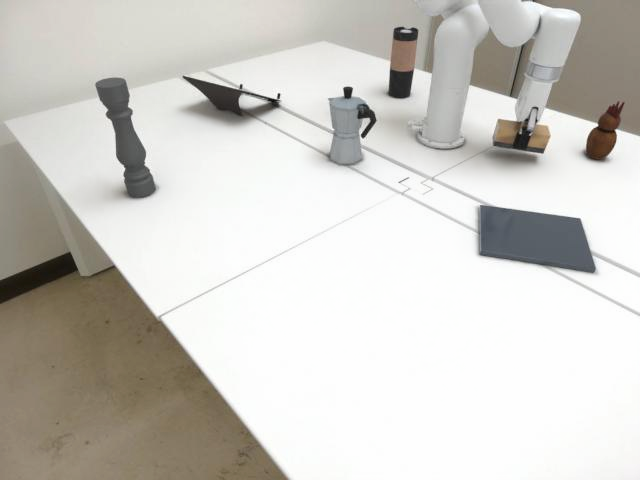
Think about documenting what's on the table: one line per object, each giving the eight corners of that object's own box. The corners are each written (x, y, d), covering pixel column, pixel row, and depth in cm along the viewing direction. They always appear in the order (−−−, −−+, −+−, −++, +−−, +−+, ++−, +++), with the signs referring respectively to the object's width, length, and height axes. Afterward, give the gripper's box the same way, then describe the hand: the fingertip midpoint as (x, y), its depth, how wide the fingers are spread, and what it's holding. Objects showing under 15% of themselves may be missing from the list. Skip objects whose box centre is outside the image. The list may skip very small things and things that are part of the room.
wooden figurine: (611, 163, 114) (636, 105, 105) (586, 161, 115) (609, 103, 106) (603, 150, 119) (627, 94, 110) (579, 148, 120) (601, 92, 111)
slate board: (479, 254, 87) (480, 250, 86) (479, 208, 99) (480, 204, 98) (594, 272, 83) (596, 268, 82) (578, 222, 95) (580, 218, 94)
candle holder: (161, 186, 106) (133, 79, 91) (145, 200, 102) (113, 89, 86) (138, 181, 108) (108, 75, 92) (122, 195, 103) (86, 86, 88)
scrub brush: (492, 146, 114) (498, 128, 111) (492, 136, 118) (497, 118, 115) (543, 154, 112) (550, 135, 109) (540, 143, 116) (548, 125, 113)
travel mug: (396, 100, 147) (403, 34, 134) (383, 92, 152) (388, 28, 140) (415, 96, 149) (424, 30, 137) (401, 88, 155) (408, 25, 142)
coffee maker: (316, 154, 118) (315, 86, 107) (338, 143, 123) (339, 76, 112) (361, 174, 110) (365, 102, 99) (382, 161, 115) (389, 91, 104)
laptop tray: (283, 124, 146) (289, 95, 144) (237, 116, 126) (244, 82, 124) (228, 109, 156) (233, 82, 153) (178, 100, 136) (183, 68, 133)
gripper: (523, 56, 110) (501, 125, 122) (529, 81, 97) (504, 156, 109) (556, 60, 109) (530, 129, 120) (566, 86, 96) (537, 161, 107)
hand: (518, 141), depth 114 cm, fingers closed on scrub brush, 5 cm apart
